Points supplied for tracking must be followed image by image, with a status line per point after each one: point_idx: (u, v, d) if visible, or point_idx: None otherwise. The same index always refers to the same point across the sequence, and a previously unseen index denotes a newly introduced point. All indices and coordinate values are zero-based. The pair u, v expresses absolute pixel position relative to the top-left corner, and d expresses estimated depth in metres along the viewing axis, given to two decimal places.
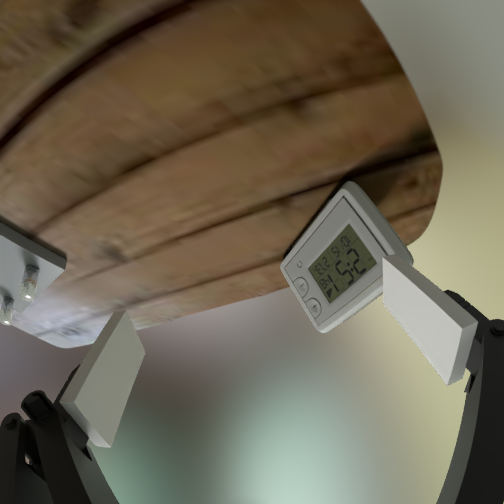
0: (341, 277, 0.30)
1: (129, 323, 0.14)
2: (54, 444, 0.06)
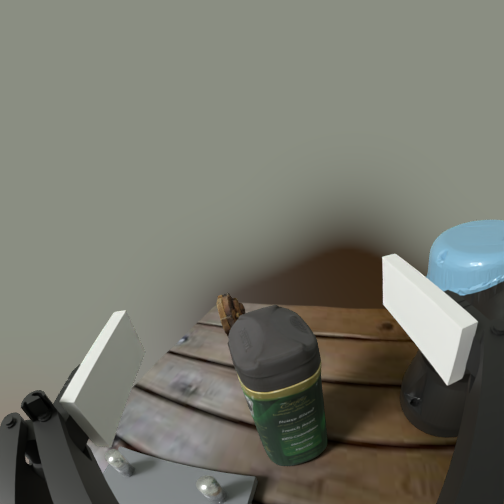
0: None
1: (129, 324, 0.14)
2: (54, 444, 0.06)
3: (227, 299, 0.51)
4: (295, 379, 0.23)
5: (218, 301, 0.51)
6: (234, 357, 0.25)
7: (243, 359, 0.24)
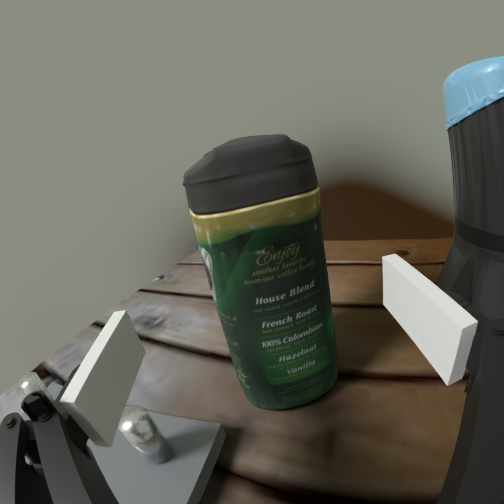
0: None
1: (129, 324, 0.14)
2: (54, 444, 0.06)
3: None
4: (276, 188, 0.14)
5: None
6: (185, 174, 0.16)
7: (195, 164, 0.15)
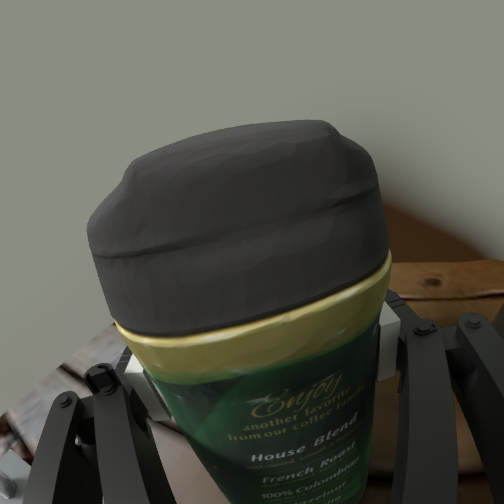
0: None
1: None
2: (114, 421, 0.07)
3: None
4: (306, 274, 0.05)
5: None
6: None
7: None
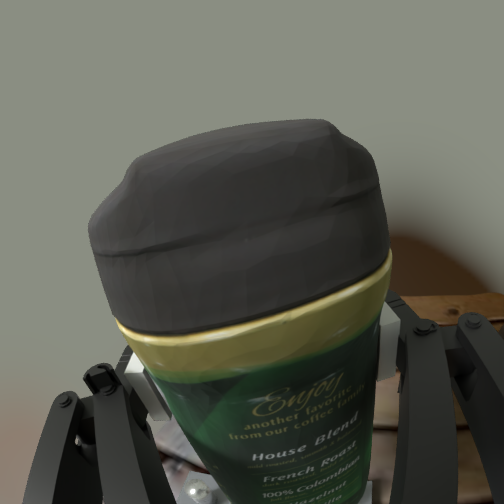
0: None
1: None
2: (114, 421, 0.07)
3: None
4: (308, 272, 0.05)
5: None
6: None
7: None
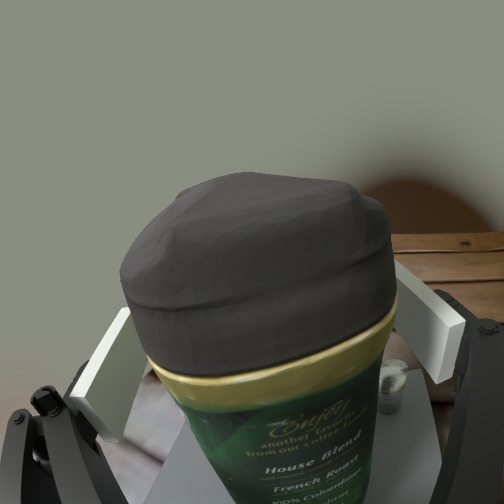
0: None
1: None
2: (63, 440, 0.06)
3: None
4: (326, 326, 0.06)
5: None
6: (125, 256, 0.08)
7: (137, 248, 0.07)
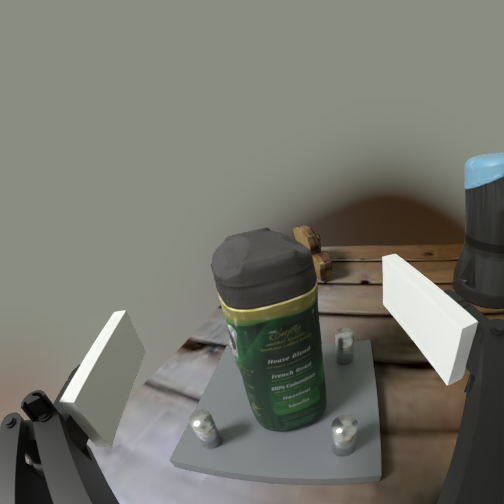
0: None
1: (129, 324, 0.14)
2: (54, 444, 0.06)
3: (306, 226, 0.60)
4: (286, 292, 0.20)
5: (298, 228, 0.60)
6: (215, 270, 0.22)
7: (225, 268, 0.21)
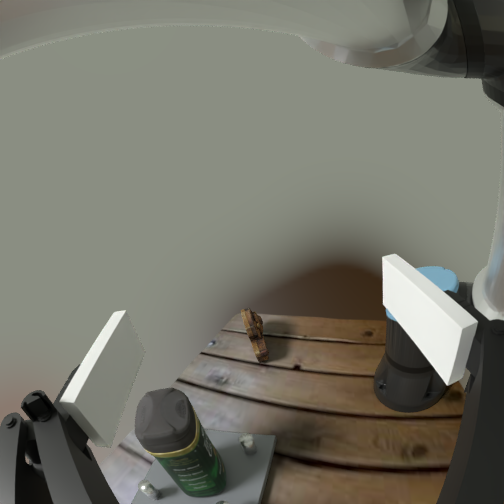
0: None
1: (129, 324, 0.14)
2: (54, 444, 0.06)
3: (249, 313, 0.68)
4: (171, 449, 0.28)
5: (242, 314, 0.68)
6: (135, 426, 0.30)
7: (137, 430, 0.29)
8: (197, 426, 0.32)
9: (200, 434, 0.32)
